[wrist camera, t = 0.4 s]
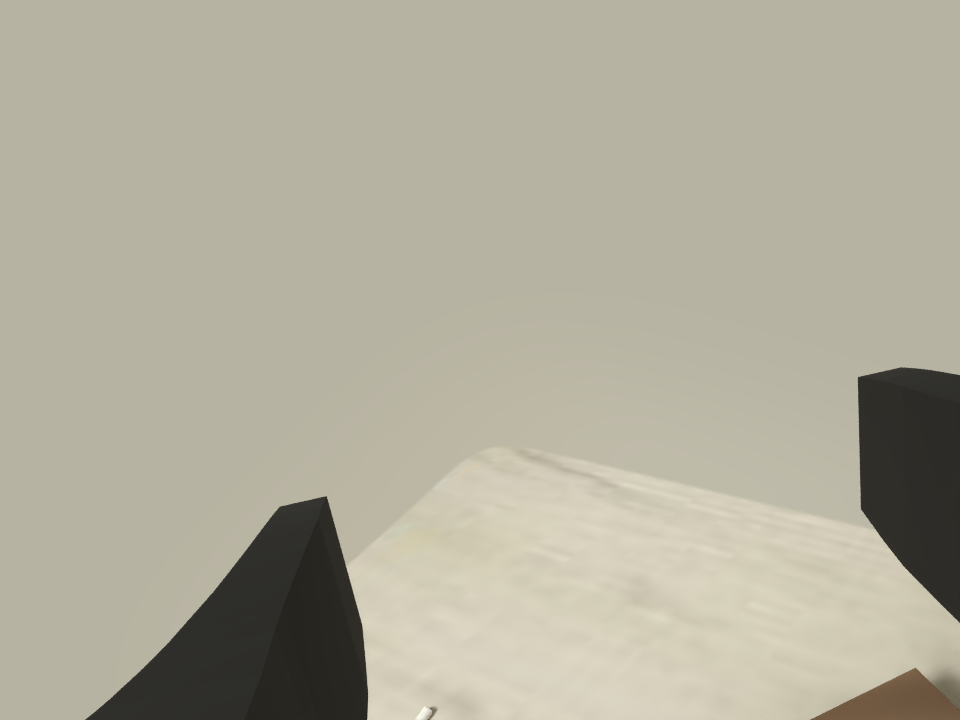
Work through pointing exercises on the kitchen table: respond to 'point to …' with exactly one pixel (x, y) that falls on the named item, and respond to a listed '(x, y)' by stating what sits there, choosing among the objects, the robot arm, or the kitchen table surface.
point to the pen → (424, 714)
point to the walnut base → (897, 702)
